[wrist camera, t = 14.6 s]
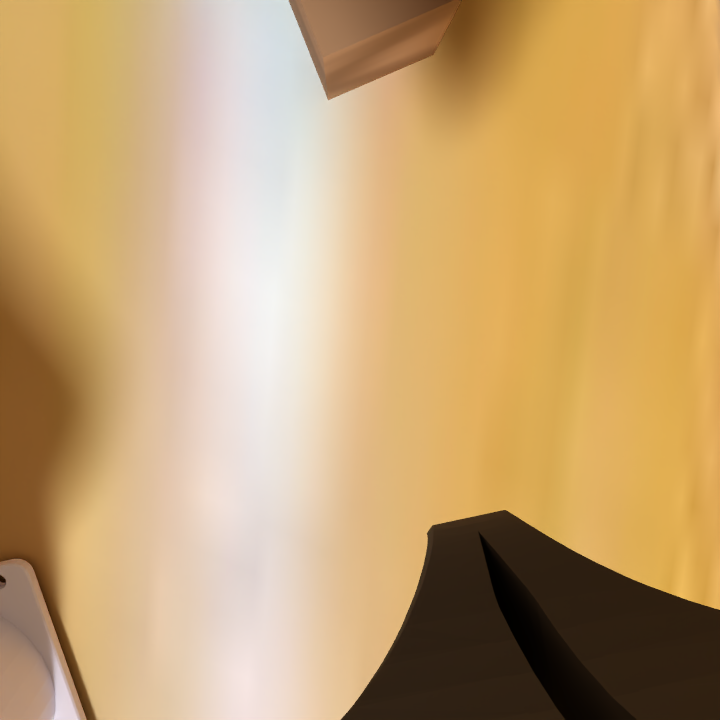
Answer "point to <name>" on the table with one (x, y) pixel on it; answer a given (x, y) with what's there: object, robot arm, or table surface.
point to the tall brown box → (369, 37)
